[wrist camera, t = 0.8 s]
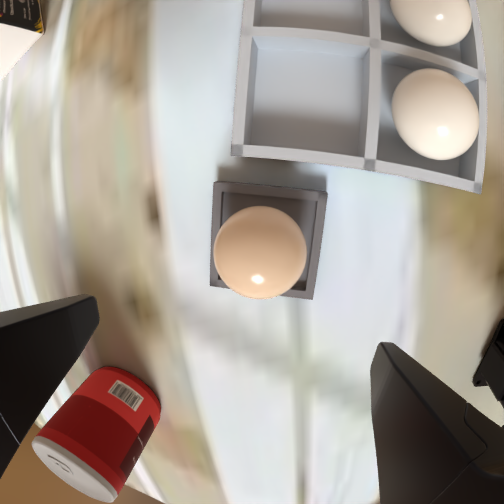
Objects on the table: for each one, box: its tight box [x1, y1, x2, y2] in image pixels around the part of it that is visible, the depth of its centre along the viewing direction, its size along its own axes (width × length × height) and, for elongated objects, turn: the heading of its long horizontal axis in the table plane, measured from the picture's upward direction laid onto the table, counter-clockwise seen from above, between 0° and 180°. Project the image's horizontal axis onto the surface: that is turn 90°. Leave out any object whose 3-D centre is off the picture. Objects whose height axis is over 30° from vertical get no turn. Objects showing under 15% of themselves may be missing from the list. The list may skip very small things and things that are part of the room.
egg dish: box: [210, 181, 328, 300], centre depth 18 cm, size 6×6×1 cm
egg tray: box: [231, 0, 487, 194], centre depth 12 cm, size 14×20×3 cm
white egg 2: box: [391, 68, 479, 160], centre depth 12 cm, size 5×5×5 cm
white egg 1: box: [390, 0, 472, 47], centre depth 10 cm, size 5×5×5 cm
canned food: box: [32, 367, 161, 502], centre depth 20 cm, size 8×8×11 cm
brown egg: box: [213, 206, 307, 299], centre depth 16 cm, size 5×5×5 cm
